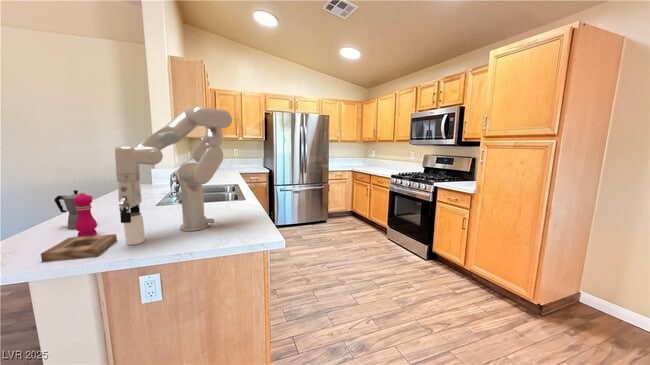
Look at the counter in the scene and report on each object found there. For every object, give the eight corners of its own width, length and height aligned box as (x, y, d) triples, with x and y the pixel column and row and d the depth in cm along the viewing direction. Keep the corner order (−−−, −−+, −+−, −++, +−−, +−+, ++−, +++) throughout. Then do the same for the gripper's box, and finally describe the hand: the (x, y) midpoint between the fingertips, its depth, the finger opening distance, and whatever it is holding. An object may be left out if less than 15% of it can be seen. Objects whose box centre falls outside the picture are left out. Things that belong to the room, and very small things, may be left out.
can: (148, 240, 113) (146, 213, 111) (133, 246, 107) (130, 217, 105) (137, 238, 115) (135, 211, 113) (122, 244, 109) (119, 215, 107)
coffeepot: (101, 223, 136) (97, 188, 133) (89, 228, 127) (85, 191, 124) (65, 224, 133) (60, 189, 130) (51, 230, 124) (45, 192, 121)
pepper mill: (85, 239, 114) (79, 193, 111) (71, 237, 115) (65, 192, 112) (102, 233, 121) (97, 190, 118) (89, 232, 122) (84, 189, 119)
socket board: (117, 241, 112) (116, 234, 112) (97, 256, 97) (96, 248, 97) (69, 244, 107) (68, 237, 107) (41, 261, 92) (40, 253, 92)
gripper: (131, 180, 99) (133, 224, 101) (146, 175, 116) (148, 214, 118) (106, 180, 97) (110, 225, 99) (126, 175, 113) (128, 214, 116)
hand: (130, 219), depth 108 cm, fingers open, 9 cm apart
